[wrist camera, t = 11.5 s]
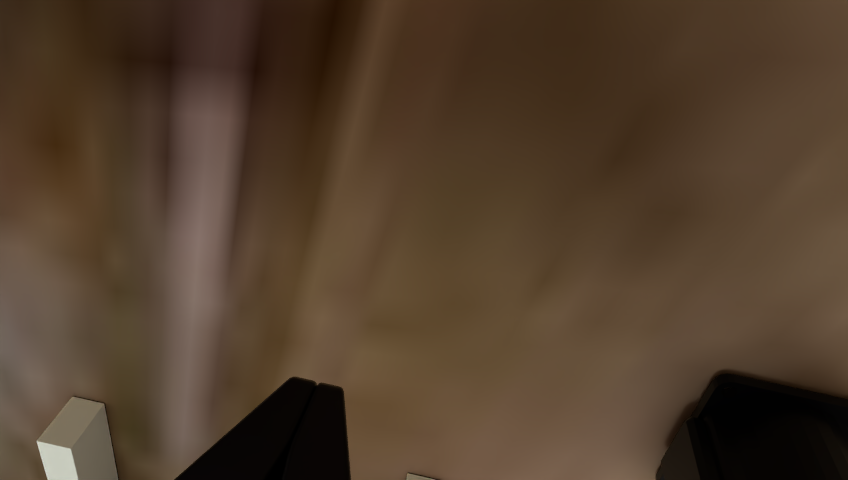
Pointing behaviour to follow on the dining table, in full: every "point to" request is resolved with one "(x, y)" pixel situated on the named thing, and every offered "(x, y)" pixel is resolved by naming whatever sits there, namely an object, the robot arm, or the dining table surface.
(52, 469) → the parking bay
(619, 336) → the dining table surface
